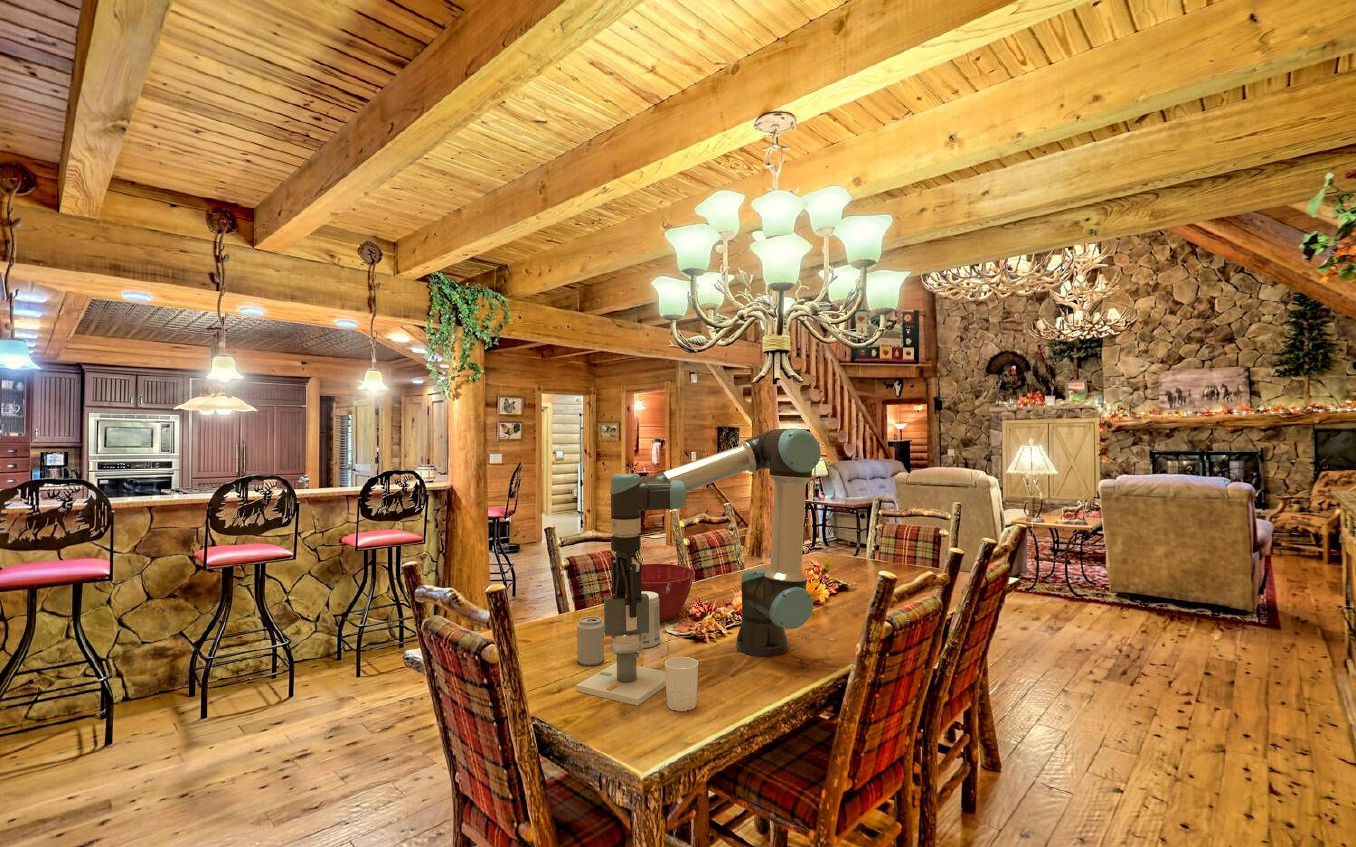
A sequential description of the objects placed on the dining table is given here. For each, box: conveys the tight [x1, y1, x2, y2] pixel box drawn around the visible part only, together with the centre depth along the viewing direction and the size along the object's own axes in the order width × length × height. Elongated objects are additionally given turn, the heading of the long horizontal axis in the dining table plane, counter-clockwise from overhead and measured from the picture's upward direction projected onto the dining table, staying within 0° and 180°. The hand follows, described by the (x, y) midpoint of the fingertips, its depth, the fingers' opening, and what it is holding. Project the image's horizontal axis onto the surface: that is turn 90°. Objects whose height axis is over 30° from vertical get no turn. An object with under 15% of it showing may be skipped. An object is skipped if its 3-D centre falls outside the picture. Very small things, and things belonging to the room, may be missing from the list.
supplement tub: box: [642, 591, 661, 649], centre depth 192 cm, size 10×10×15 cm
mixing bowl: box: [625, 563, 696, 622], centre depth 220 cm, size 28×28×16 cm
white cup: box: [664, 656, 699, 712], centre depth 148 cm, size 8×8×10 cm
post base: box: [575, 652, 666, 707], centre depth 160 cm, size 18×18×9 cm
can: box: [576, 615, 605, 667], centre depth 176 cm, size 8×8×12 cm
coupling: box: [601, 594, 649, 654], centre depth 160 cm, size 12×8×13 cm, turn 102°
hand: (626, 626), depth 160 cm, fingers closed on coupling, 5 cm apart
